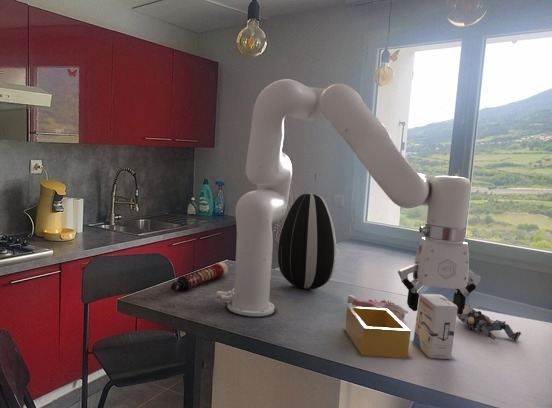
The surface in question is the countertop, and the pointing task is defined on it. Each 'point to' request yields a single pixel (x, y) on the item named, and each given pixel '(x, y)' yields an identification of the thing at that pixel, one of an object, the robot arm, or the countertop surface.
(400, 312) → the toy
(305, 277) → the sunflower seed
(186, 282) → the shock absorber
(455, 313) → the ink box
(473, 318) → the toy
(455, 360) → the countertop surface
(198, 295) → the countertop surface
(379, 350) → the holder
